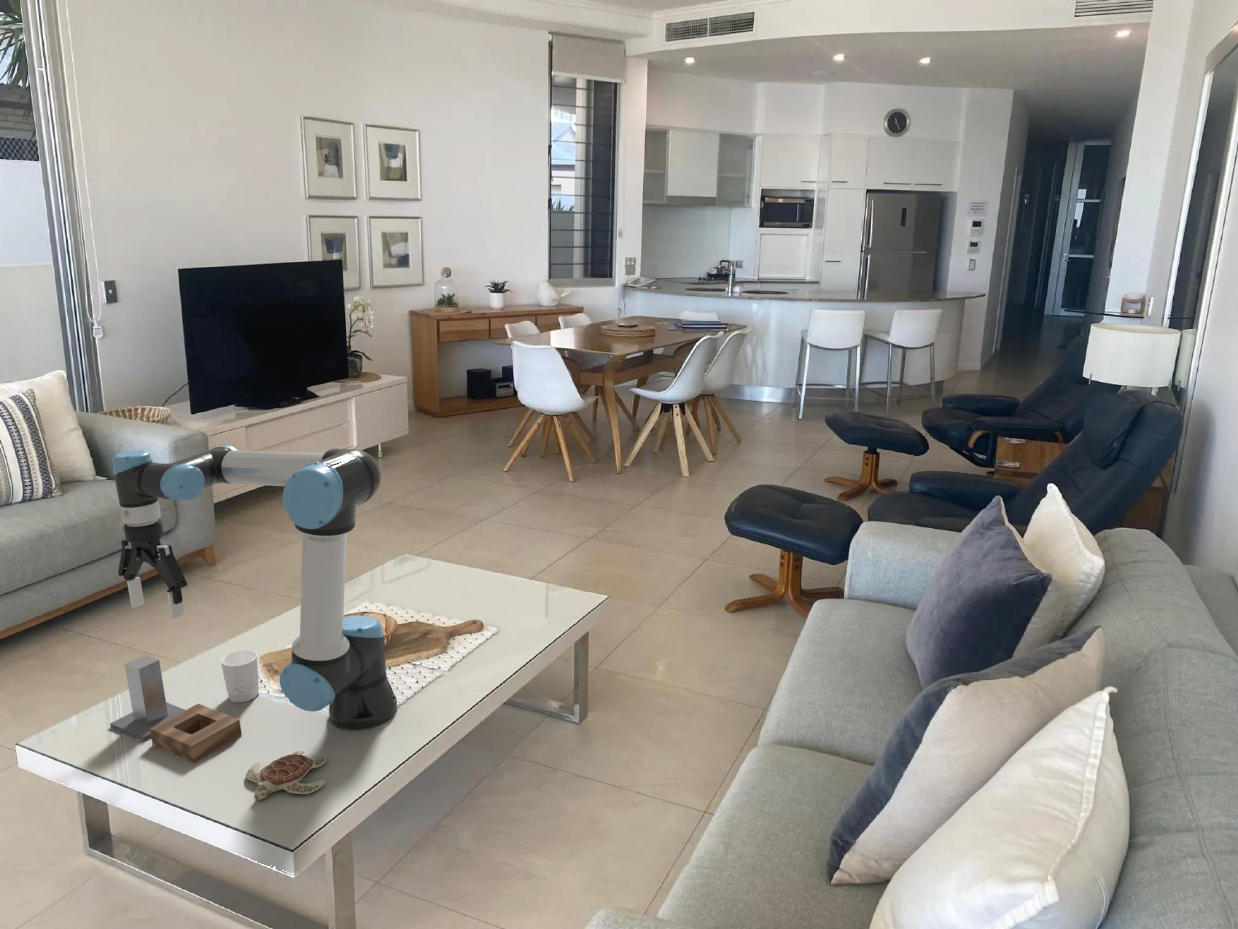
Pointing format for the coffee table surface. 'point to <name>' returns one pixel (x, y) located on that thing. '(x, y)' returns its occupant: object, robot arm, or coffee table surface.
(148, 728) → the rubber mat
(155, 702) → the metal peg
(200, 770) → the coffee table surface
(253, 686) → the white cup
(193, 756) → the walnut holder
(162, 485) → the robot arm
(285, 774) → the decorative turtle
